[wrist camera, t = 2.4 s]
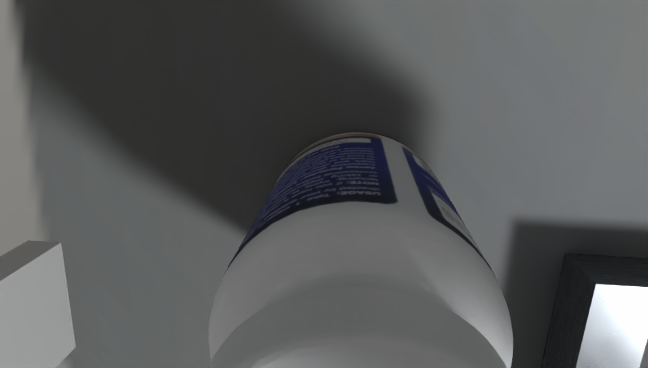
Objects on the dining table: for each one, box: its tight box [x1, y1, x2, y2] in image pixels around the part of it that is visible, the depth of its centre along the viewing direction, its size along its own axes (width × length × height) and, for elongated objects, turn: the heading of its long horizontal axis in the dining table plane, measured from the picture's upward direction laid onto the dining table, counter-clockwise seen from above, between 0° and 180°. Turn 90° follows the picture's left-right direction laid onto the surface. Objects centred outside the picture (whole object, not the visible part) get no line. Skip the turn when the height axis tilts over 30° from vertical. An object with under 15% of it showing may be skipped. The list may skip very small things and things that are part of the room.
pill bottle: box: [208, 132, 513, 368], centre depth 10 cm, size 6×6×10 cm
